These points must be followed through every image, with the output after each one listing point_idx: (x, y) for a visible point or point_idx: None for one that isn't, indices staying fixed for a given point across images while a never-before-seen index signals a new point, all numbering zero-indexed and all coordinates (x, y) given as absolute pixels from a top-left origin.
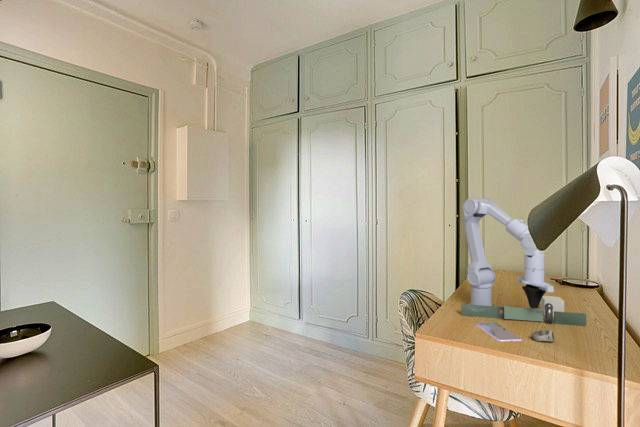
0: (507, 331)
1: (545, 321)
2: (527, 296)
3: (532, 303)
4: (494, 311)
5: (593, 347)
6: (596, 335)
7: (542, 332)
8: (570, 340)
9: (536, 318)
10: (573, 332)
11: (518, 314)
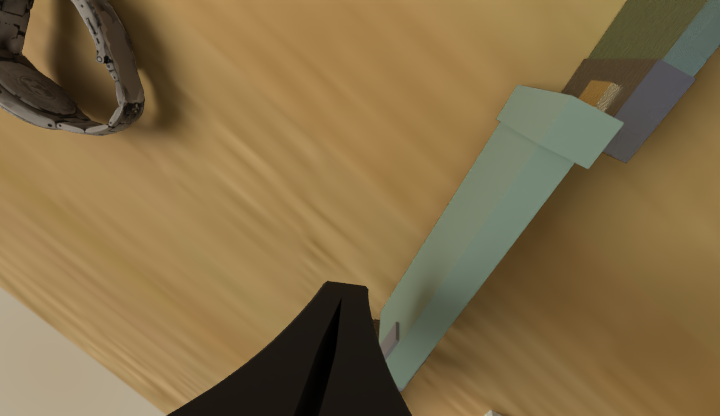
0: None
1: (379, 326)
2: (365, 368)
3: (302, 311)
4: (647, 28)
5: (26, 249)
6: (182, 382)
7: (125, 106)
8: (106, 222)
9: (398, 295)
10: (221, 328)
11: (466, 205)
